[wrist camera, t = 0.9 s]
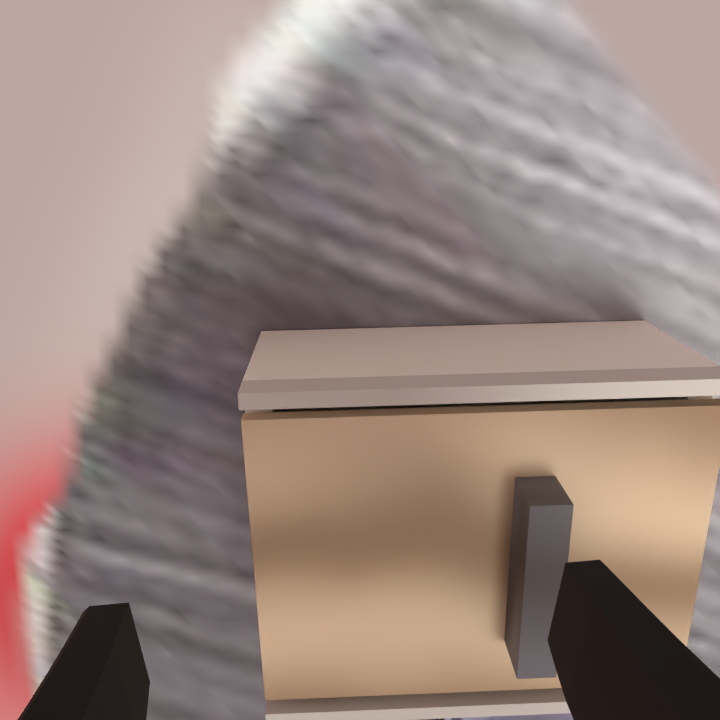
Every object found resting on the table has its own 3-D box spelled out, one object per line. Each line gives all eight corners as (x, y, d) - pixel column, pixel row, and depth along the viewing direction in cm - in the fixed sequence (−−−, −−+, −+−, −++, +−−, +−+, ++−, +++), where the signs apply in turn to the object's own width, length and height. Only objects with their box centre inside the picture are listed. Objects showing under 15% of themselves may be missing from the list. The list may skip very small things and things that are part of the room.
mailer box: (609, 591, 28) (679, 708, 22) (281, 604, 28) (266, 726, 22) (644, 320, 24) (739, 378, 18) (261, 331, 24) (237, 393, 18)
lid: (672, 671, 23) (705, 723, 21) (266, 688, 22) (259, 742, 20) (720, 398, 19) (764, 428, 17) (243, 413, 19) (232, 446, 17)
